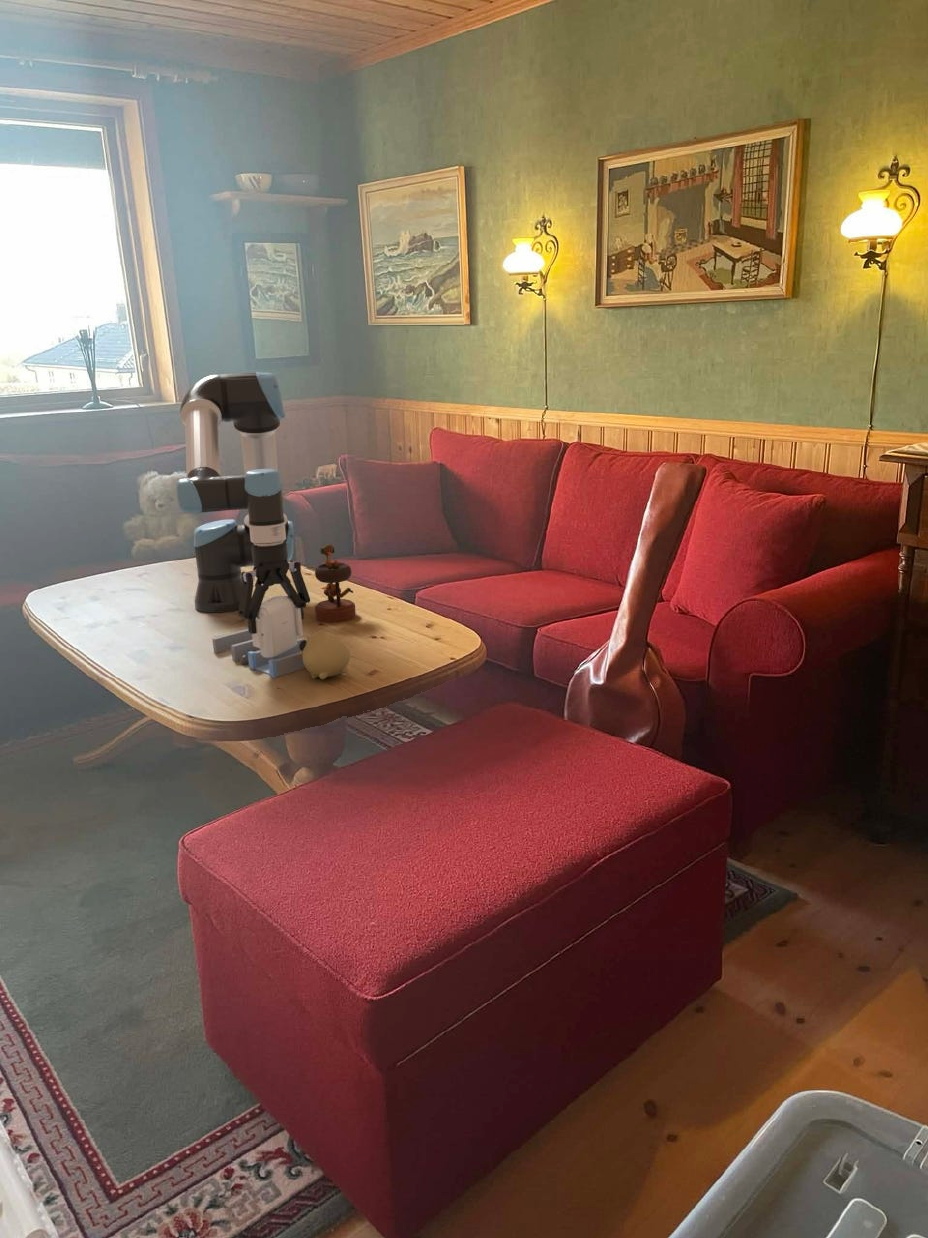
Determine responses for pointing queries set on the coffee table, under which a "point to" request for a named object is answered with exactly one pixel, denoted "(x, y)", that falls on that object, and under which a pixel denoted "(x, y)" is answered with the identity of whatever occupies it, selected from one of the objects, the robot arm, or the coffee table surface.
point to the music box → (334, 590)
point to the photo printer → (277, 626)
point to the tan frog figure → (324, 655)
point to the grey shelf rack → (250, 654)
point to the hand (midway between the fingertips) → (278, 640)
